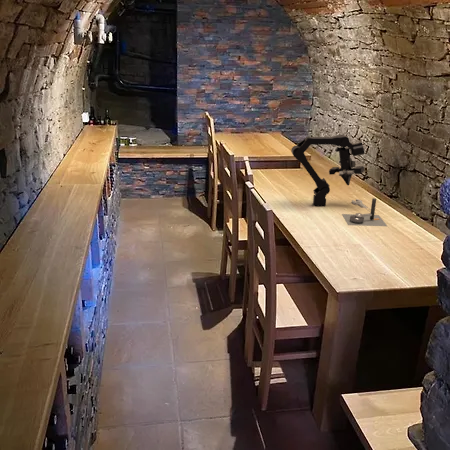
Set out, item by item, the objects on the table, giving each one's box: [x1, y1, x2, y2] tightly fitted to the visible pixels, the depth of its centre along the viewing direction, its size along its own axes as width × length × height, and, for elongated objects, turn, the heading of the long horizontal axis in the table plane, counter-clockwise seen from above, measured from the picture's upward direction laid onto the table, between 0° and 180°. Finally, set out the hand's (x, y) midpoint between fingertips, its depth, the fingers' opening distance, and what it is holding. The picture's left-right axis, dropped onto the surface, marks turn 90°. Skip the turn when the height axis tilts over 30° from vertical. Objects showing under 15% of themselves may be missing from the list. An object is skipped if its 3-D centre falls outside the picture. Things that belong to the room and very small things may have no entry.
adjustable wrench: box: [351, 198, 377, 215], centre depth 279 cm, size 25×6×2 cm, turn 6°
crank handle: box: [350, 197, 377, 223], centre depth 254 cm, size 8×13×11 cm, turn 133°
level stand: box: [341, 213, 388, 227], centre depth 257 cm, size 20×17×1 cm
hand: (348, 185), depth 275 cm, fingers closed
